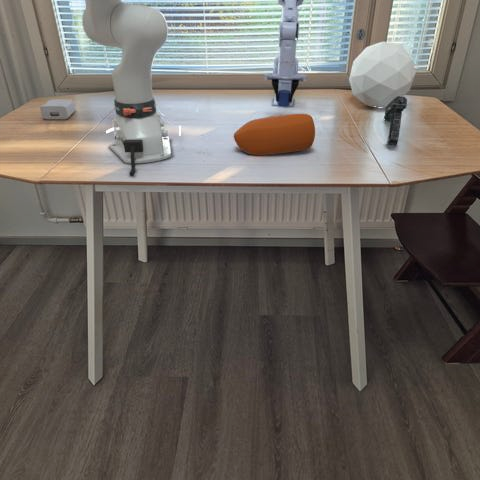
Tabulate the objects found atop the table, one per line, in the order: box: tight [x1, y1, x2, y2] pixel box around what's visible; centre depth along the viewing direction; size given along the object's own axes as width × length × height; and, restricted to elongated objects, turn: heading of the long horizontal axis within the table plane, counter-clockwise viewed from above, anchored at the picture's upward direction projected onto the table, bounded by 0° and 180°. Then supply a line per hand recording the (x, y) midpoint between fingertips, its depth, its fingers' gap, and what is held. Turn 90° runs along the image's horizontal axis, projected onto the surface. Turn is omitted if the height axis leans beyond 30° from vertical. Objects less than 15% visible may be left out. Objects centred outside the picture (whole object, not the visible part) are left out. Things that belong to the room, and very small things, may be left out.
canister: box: [277, 90, 290, 108], centre depth 147 cm, size 4×4×5 cm
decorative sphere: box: [348, 41, 417, 110], centre depth 160 cm, size 24×25×25 cm
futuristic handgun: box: [383, 96, 408, 147], centre depth 138 cm, size 4×29×15 cm, turn 164°
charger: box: [39, 98, 76, 120], centre depth 153 cm, size 5×9×15 cm
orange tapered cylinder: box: [233, 113, 316, 156], centre depth 124 cm, size 12×11×25 cm
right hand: (283, 101), depth 147 cm, fingers closed on canister, 4 cm apart
